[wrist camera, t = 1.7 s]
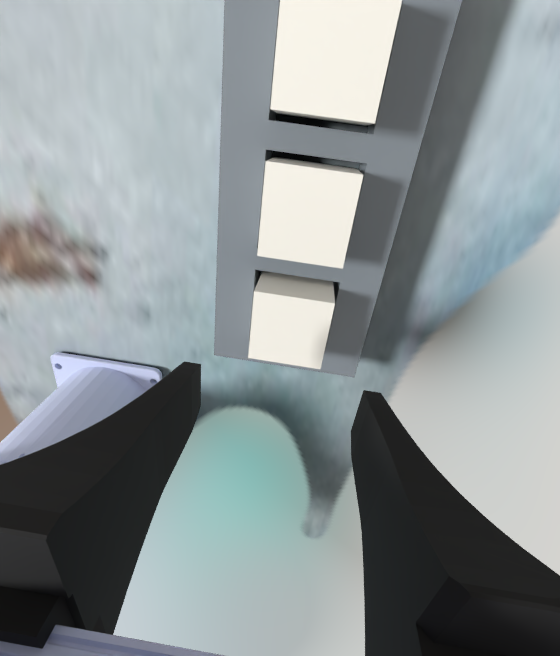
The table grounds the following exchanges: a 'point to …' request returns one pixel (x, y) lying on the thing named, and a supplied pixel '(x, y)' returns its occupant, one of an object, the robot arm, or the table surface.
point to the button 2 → (333, 58)
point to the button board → (366, 148)
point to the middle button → (307, 211)
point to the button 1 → (291, 319)
